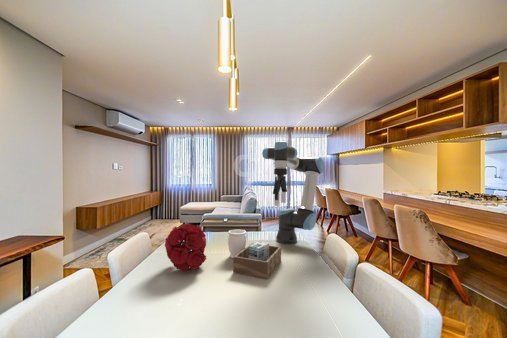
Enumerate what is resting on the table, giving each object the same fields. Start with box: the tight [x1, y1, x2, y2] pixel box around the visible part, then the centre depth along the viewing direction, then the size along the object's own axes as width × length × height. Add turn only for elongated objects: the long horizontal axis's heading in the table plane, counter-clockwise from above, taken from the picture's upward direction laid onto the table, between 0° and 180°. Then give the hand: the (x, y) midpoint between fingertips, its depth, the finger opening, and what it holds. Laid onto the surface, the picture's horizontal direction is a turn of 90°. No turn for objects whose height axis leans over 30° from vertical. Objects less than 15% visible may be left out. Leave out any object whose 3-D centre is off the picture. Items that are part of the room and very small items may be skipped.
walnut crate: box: [232, 242, 282, 280], centre depth 125 cm, size 24×18×8 cm
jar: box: [227, 229, 247, 259], centre depth 139 cm, size 11×10×15 cm
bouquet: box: [164, 223, 207, 271], centre depth 126 cm, size 22×24×30 cm
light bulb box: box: [248, 241, 270, 261], centre depth 126 cm, size 11×7×11 cm, turn 144°
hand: (280, 204), depth 137 cm, fingers open, 13 cm apart
